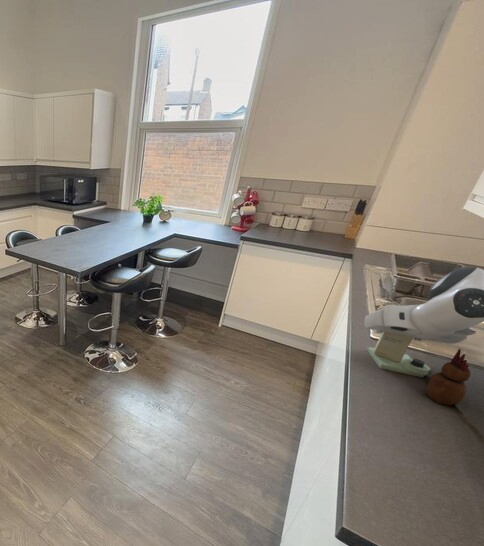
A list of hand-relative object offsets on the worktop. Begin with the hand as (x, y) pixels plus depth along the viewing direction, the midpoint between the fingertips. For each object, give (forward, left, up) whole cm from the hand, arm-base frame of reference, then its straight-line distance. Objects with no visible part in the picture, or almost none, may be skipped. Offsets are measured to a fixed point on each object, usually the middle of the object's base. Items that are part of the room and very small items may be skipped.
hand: (396, 334), depth 96 cm
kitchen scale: (-1, +2, -9) cm, 9 cm away
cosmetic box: (0, +1, -8) cm, 8 cm away
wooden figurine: (-5, +17, -9) cm, 20 cm away
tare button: (-5, +5, -6) cm, 10 cm away
